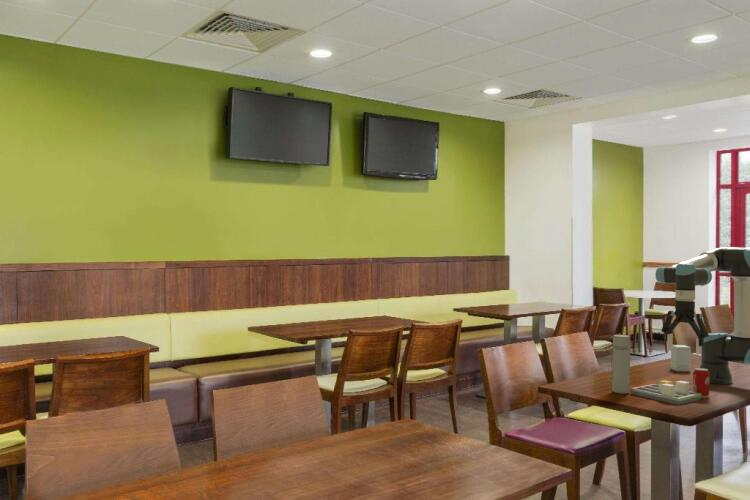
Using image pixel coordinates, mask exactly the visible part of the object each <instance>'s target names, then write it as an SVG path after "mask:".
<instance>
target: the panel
mask: <svg viewBox="0 0 750 500" xmlns="http://www.w3.org/2000/svg"><path fill="white" fill-rule="evenodd" d="M633 394H634V395H633ZM630 395H633V396H638V397H643V398H648V399H650V400H656V401H661V402H664V403H669V404H673V405H678V406H680V405H684V404H689V403H692V402H696V401H701V400H702V398H701V394H700V393H695V392H693V391H690V392H689V394H686V393H681V392H676V387H675V397H671V396H666V395H662V394H661V391H659V384H656V383H651V384H646V385H641V386H636V387H631V388H630Z"/></svg>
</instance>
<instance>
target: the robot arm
mask: <svg viewBox="0 0 750 500" xmlns="http://www.w3.org/2000/svg"><path fill="white" fill-rule="evenodd" d="M715 271H716V272H728V273H729V274H730V277H731V278H732V280H733V317H734V318H733V320H734V322H733V325H734V327H733V329H734V330H733V332H731V333H729V332H713V333H712V332H710V333H709V332H708V331H707V330H708V329H707V327H706V325H705V322H704V320H703V314H702V313H695V310H696V302H695V300H696V287H697V286H701V287H703V286H706V285H709V284H710V283H711V281H712V279H713V273H712V272H715ZM655 279H656V281H657V282H658V283H660V284H665V285H666V284H669V285H670V284H671V285H675V294H674V295H675V300H674V301H675V303H674V309H675V311H674V310H668V311H667V316H666V318H665V321H664V323H663V326H662V328H661V333H665V341H666V343H667V344H666V346H667V347H666V350H667V351H668V350H670V351H671V349H672V348H673V345H674V343H673V341H674V340H673V339H674V338H673V337H674V336H673V335H674V334H673V331H674V330H675V329H676V327H678V325H679V323H685V324H687V323H688V325H689V326H690V327H691V328H692V330H693V331H694V333H695V335H696V336H697V337H696V339H695V340H696V341H695V343H696V344H695V354H696V355H701V362H700V367H699V368H705V369H708V372H709V384H715V385H730V384H732V383H733V376H732V372H731V369H730V366H729V365H730V364H729V363H738V364H742V365H743V364H744V365H750V247H749V246H722V247H717V248H714V249H710V250H706V251H703V252H701V253H700V254H699V255H698V256H696V257H694V258H690V259H687V260H684V261H681V262H679V263H676V264H673V265H670V266H666V265H665V266H658V267H657V268H656V270H655ZM674 316H675V318H674ZM673 318H674V320H673ZM694 318H695V319H696V321H695V319H694ZM672 321H673V322H672ZM696 322H697V323H696Z"/></svg>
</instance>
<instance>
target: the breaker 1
mask: <svg viewBox="0 0 750 500" xmlns="http://www.w3.org/2000/svg"><path fill="white" fill-rule="evenodd" d="M675 388H676V384H673V385H672V384H667V383H666V384H661V394H662V395H666V396H671V397H675Z"/></svg>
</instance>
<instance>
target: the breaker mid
mask: <svg viewBox="0 0 750 500" xmlns="http://www.w3.org/2000/svg"><path fill="white" fill-rule="evenodd" d="M666 383H667V384H672V385H674V383H673V381H670V380H667V379H663V380H658V385H659V391H661V384H666Z"/></svg>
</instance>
